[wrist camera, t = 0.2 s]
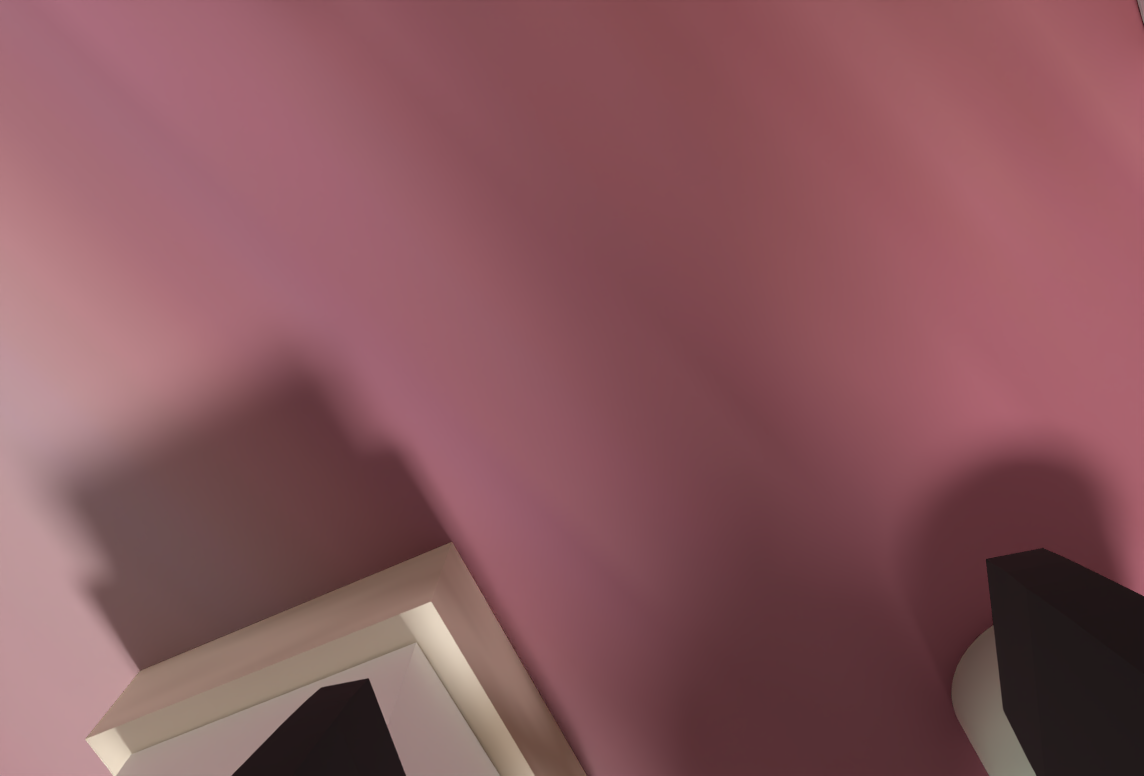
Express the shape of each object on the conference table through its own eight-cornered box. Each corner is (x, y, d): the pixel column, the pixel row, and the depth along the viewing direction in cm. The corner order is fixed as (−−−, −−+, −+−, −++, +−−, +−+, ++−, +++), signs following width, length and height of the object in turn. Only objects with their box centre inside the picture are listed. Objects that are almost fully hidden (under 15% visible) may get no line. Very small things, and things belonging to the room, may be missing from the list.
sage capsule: (1159, 721, 22) (1275, 855, 18) (981, 779, 23) (1056, 919, 19) (1113, 577, 21) (1228, 689, 17) (926, 643, 21) (996, 764, 18)
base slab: (609, 803, 24) (609, 900, 21) (325, 899, 25) (289, 1001, 22) (455, 532, 21) (431, 601, 18) (150, 657, 23) (85, 739, 20)
